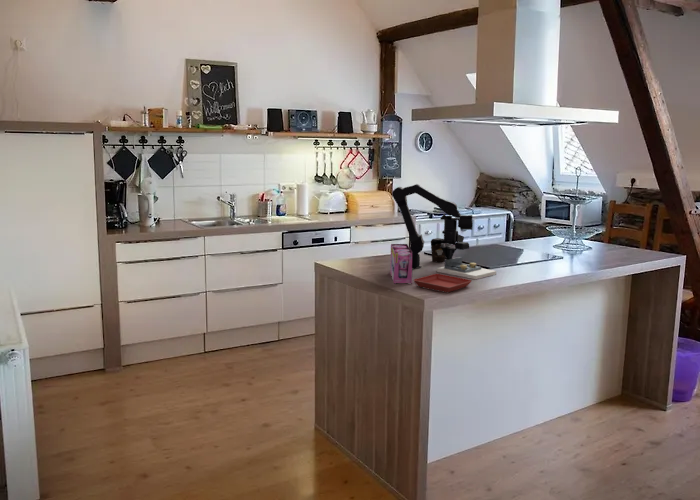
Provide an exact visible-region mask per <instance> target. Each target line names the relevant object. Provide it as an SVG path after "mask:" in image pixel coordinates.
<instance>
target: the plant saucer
mask: <svg viewBox="0 0 700 500" xmlns="http://www.w3.org/2000/svg"><path fill="white" fill-rule="evenodd" d="M472 280H473V279H469V278H468V279H467V278H464V277H459V276H458V277H456V276H454V275H449V274H448V275H447V274H443V273H442V274H441V273H433V274H429V275H426V276H422V277H418V278H413V279H412V281H413V283H415V284H416V285H417V286H418V287H419V286H420V287H419V288H422V287H424V288H423V289H427V288H429V289H428V290H432V289H434V290H433V291H437V290H439V292H442V291H444V292H443V293H447V292H448V293H451V292H455V291H458V290H460V289H461V290H462V289H463V288H466V287H467V286H469V285H470V283H472Z"/></svg>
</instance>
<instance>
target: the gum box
mask: <svg viewBox="0 0 700 500" xmlns="http://www.w3.org/2000/svg"><path fill="white" fill-rule="evenodd" d="M409 247H410V245H408V243H391V244H390V263H389V264H390V265H389V266H390V270H389V271H390V276H392V277H391V279H392V282H394V283H393V284H396V283H411V284H412V281H413V278H412V277H413V274H412V273H413V269H412V251H411V250H410V248H409Z"/></svg>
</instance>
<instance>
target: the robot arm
mask: <svg viewBox="0 0 700 500" xmlns="http://www.w3.org/2000/svg"><path fill="white" fill-rule="evenodd" d="M413 194H417V195H418V196H420V197H422V198H424V199H426V200H427V201H429V202H430V203H432V204H433V205H436V206H437V207H438V208H440V210H442V212H444V213H443V215H442V216H440V220H442V221H444V223H443V224H444V225H443V230H442V231H441V232H442V234H443V238H440V237H436V238H432V239H431V241H430V246H431V245H437V244H441V247H440V248H441V249H442V250H443V252H444V254H445V256H446V258H445V260H447V259H452V258H453V256H454V254H455V252H456V250H468V249H470V243H469V242H466V241H464V239H465V236H463V235H461V234H459V231H458V230H457V227H458V228H460V230H464V231H465V230H466V231H467V230H469V231H470V230H471V231H473V221H474V220H473V215H472V214H469V215H468V214H467V215H465V214H461V212H459V210H458V205H457V204H456V203H455V202H454V201H451V200H449V199H444V198H443V197H440V196H439V195H436V194H435V193H433V192H432V191H429V190H428V189H426V188H424V187H422V186H421V184H418V183H416V184H414V185H411V186H409V185H408V186H405V187H402V186H397V187H395V188H394V189H393V191H392V193H391V195H392V197H393V200H394V201H395V203H396V205H397V206H398V208H399V211H400V213H401V215H402V219H403V221H404V225H405V227H406V229H407V233H408V236H409V237H408V238H409V244H410V245H409V248H410V250H411V251H412V270H415V269H420V268H422V266H421V264H420V263H421V261H420V260H421V259H420V258H421V255H420V254H419V253H421V252H422V251H423V248H424V247H425V245H424V244H425V240H424V238H423V234H419V232H418V231H417V229H416V226H415V222H414V220H413V217H412V214H411V211H410V208H409V206H408V205H409V204H408V199H407V197H408V196H410V195H413Z"/></svg>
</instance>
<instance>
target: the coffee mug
mask: <svg viewBox="0 0 700 500" xmlns="http://www.w3.org/2000/svg"><path fill="white" fill-rule="evenodd" d="M440 247H441V244H437V245H431V244H430V249H431V250H430V251H431V262H433V263H438V264H439V263H445V260H446V256H445V254H444V252H443V250H442V249H441V248H440Z"/></svg>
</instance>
